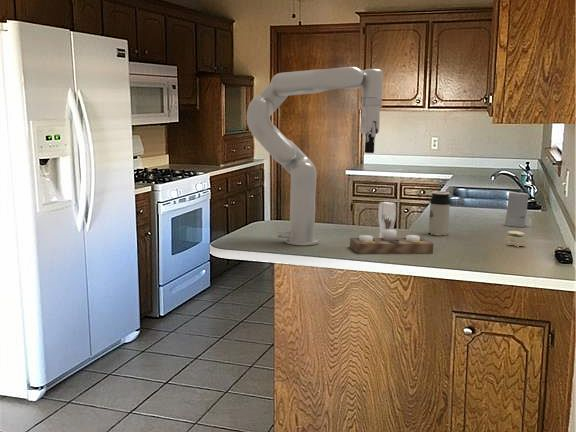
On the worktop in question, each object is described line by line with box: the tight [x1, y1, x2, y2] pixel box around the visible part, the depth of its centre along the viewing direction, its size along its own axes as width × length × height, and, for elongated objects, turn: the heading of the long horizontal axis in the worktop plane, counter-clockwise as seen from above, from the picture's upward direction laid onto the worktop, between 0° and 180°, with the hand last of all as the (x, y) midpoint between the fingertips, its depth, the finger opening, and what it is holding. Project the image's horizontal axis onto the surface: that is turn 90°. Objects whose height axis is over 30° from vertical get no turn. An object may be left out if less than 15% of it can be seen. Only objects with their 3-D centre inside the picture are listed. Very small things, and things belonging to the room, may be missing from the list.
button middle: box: [383, 228, 398, 241], centre depth 235 cm, size 5×5×4 cm
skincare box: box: [504, 191, 530, 228], centre depth 297 cm, size 8×7×16 cm
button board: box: [349, 237, 434, 255], centre depth 234 cm, size 28×12×4 cm, turn 98°
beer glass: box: [377, 201, 397, 238], centre depth 252 cm, size 7×7×15 cm
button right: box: [405, 234, 421, 241], centre depth 237 cm, size 5×5×4 cm
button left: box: [358, 234, 374, 241], centre depth 234 cm, size 5×5×4 cm
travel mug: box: [428, 190, 451, 236], centre depth 269 cm, size 8×8×18 cm
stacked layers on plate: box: [506, 230, 527, 247], centre depth 249 cm, size 10×9×6 cm
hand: (369, 152), depth 238 cm, fingers closed
